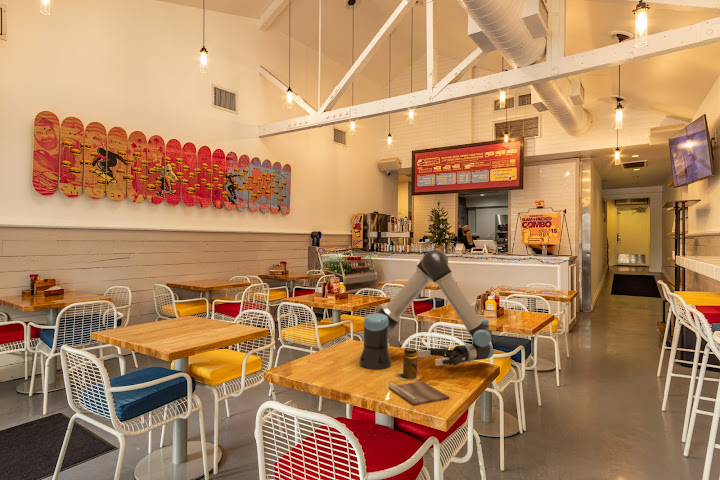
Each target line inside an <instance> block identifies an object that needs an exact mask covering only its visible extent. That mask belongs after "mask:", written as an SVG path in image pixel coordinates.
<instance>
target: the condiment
mask: <svg viewBox="0 0 720 480" xmlns="http://www.w3.org/2000/svg"><path fill="white" fill-rule="evenodd" d="M402 358H403V363H402V364H403V366H402V367H403V368H402V373H396V376H397V377H398V379H400V380H401V381H407V380H420V379H421V378H420V377H419V376H418V351H417V349H415V348H412V347H411V348H410V347H409V348H404V355H403V357H402Z"/></svg>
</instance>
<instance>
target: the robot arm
mask: <svg viewBox="0 0 720 480" xmlns="http://www.w3.org/2000/svg"><path fill="white" fill-rule="evenodd" d="M452 274H453V272H452V270H451V268H450V267H449V259H448V256H447V254H446V253H444V252H443V251H442V250H439V249H432V250H429V251H428V252H426V253H425V254H424V255H423V257H422V259H421V260H420V261H419V263H418V264H417V265H416V270H415V272H414V273H413V274H412V275H411V276H410V277H409V279H408V280H407V281H406V283H404V285H403V286H402V287H401V288H400V290H398V292H397V293H396V294H395V296H394V297H393V298H392V299H391V300H390V301H389V303H387V305H382V306H381V307H380V309H379V310H378V311H377V312H376V313H370V314H367V315H366V316H365V317H364V322H363V349H362V352H361V355H360V358H359V365H360V366H361V367H362V368H365V369H370V370H384V369H387V368H390V367H392V359H391V354H390V351H389V334H390V333H392V332H393V330H394V329H395V328H396V326H397V325H398V324H399V323H400V322H401V316H402V315H403V314H404V313H405V311H407V309H408V308H409V307H410V305H411V304H412V303H413V302H414V300H416V298H417V297H418V296H419V295H420V294H421V293H422V292H423V290H424V289H426V287H427V286H428V284H430V282H433V283H434V284H437V285H438V287H439V288H440V290H441V292H442V293H443V294H444V295H443V296H445V297H446V299H447V301H448V303H449V304H450V305H451V307H452V308H453V310H454V311H455V313H456V315H457V316H458V317H459V319H460V321H461V322H462V324H463V325H464V327H465V329H466V330H467V332H468V333H469V335H470V336H471V339H472V340H471V341H472V342H471V343H470V344H469V343H468V344H463V345H462V344H461V345H455V346H454V347H453V349H449V348H447V347H445V348H438V347H437V348H436V347H435V348H433V347H431V348H429V347H428V348H427V349H425V350H418V351H417V358H425V357H428V358H430V357H431V356H433V357H434V356H437V357H443V358H436V359H434V361H435V362H434V365H435V367H440V366H445V365H452V366H457V365H459V364H461V363H466V362H468V363H470V362H471V361H480V360H487V359H491V358H492V357H493V356H494V352H495V351H494V348H493V345H492V344H491V339H492V335H491V333H490V331H489V329H490V324H489V322H490V321H489V319H487V318H484V317H483V318H482V317H479V315H478V313H477V312H476V310H475V309H474V307H473V306H472V304H471V302H469V299H468V298H467V297H466V295H465V294H464V292H463V291H462V289H461V288H460V286H459V285H458V283H457V282H456V280H455V278H454V277H453V276H452Z"/></svg>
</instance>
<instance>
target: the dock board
mask: <svg viewBox="0 0 720 480" xmlns="http://www.w3.org/2000/svg"><path fill="white" fill-rule="evenodd" d="M388 389H389V390H391V391H392V392H393V393H394V394H396V395H397V396H399V397H400V398H402V399H403V400H405V401H406V402H408V403H409V404H410V405H412V406H419V405H426V404H429V403H434V402H440V401H446V400H450V396H449V395H447V394H445V393H444V392H442V391H440V390H438V389H437V388H435V387H433V386H431V385H430V384H428V383H426V382H425V381H423V380H422V381H416V382H415V381H414V382H409V383H402V384H396V383H394V382H392V381H391V382H388Z"/></svg>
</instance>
